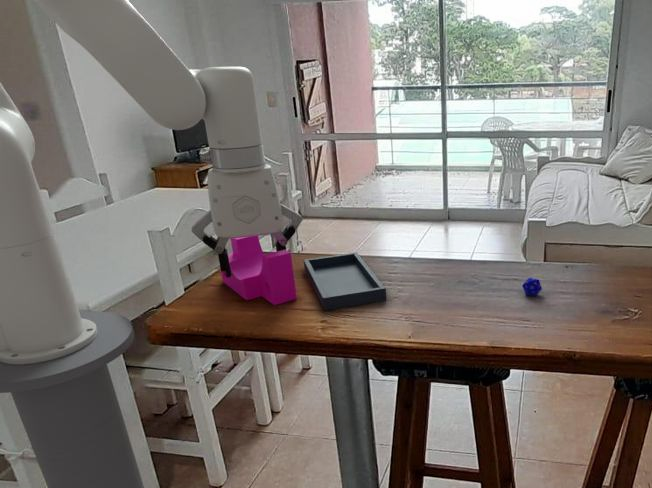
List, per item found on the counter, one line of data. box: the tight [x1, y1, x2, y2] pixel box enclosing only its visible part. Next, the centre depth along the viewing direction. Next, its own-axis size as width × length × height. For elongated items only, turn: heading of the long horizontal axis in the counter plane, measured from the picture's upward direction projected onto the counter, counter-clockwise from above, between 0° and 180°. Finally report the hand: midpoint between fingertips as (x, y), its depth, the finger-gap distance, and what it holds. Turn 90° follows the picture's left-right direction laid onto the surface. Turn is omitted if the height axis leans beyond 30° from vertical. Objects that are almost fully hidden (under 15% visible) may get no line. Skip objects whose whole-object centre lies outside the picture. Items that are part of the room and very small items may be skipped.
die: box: [521, 277, 543, 297], centre depth 87 cm, size 3×3×3 cm
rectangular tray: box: [303, 252, 387, 311], centre depth 93 cm, size 10×19×2 cm, turn 19°
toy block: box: [217, 236, 297, 306], centre depth 91 cm, size 15×6×8 cm, turn 37°
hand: (255, 270), depth 91 cm, fingers closed on toy block, 7 cm apart
